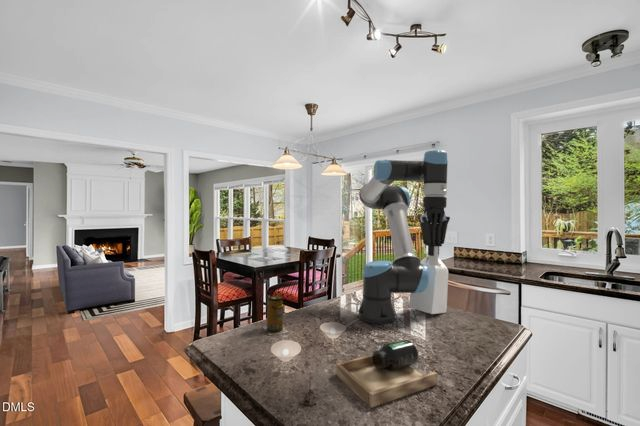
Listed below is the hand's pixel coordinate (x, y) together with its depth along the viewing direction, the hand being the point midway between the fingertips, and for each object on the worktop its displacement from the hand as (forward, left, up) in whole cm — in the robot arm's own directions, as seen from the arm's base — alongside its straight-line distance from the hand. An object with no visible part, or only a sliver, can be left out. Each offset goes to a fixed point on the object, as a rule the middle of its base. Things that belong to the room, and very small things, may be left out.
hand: (433, 264), depth 108 cm
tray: (-6, -32, -26) cm, 42 cm away
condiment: (-52, -20, -27) cm, 62 cm away
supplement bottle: (-2, -21, -23) cm, 31 cm away
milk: (-7, +31, -26) cm, 41 cm away
